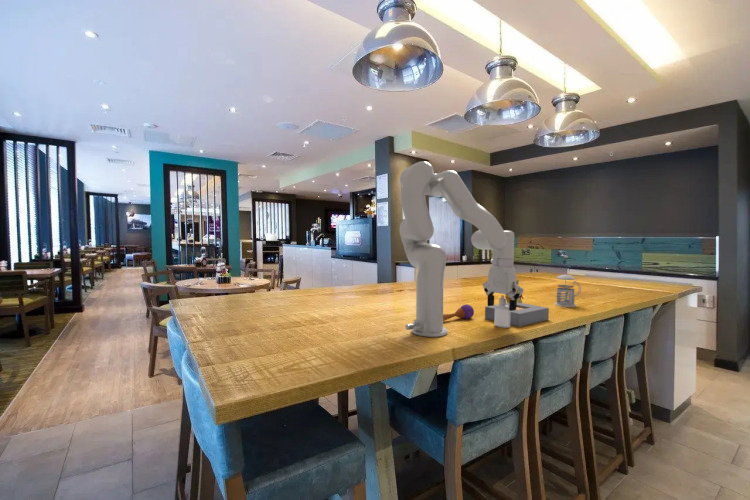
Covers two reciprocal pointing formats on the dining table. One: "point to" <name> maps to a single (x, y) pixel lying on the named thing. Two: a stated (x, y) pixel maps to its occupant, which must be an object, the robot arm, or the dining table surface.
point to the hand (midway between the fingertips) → (501, 307)
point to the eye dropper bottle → (502, 314)
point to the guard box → (522, 314)
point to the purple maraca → (461, 313)
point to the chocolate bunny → (515, 292)
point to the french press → (566, 289)
